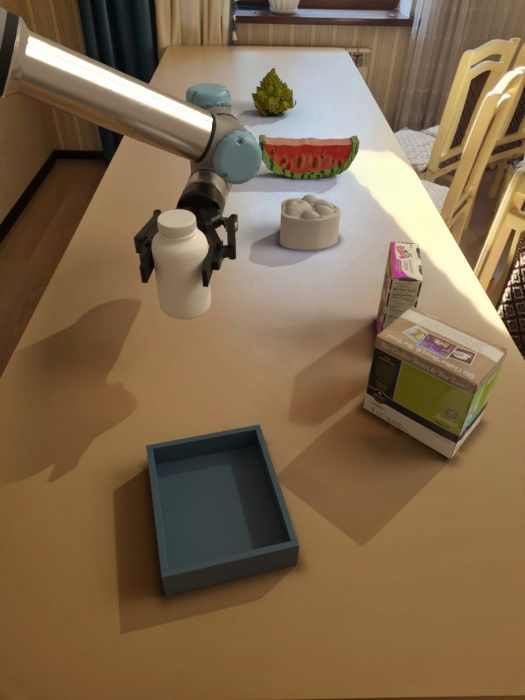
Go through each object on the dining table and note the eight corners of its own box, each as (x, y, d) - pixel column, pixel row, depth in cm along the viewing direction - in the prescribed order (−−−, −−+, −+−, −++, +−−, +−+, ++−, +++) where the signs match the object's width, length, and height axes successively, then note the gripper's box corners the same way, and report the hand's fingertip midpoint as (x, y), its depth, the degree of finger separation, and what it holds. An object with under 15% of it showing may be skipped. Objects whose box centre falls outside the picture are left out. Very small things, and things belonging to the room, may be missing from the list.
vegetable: (272, 89, 194) (281, 56, 180) (296, 122, 192) (306, 92, 178) (237, 103, 190) (244, 71, 176) (261, 138, 188) (270, 108, 173)
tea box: (480, 421, 82) (511, 348, 72) (449, 462, 76) (478, 387, 66) (394, 375, 89) (412, 302, 79) (360, 408, 83) (374, 334, 74)
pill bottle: (151, 317, 81) (138, 227, 72) (170, 287, 87) (160, 201, 77) (202, 325, 80) (195, 235, 70) (217, 294, 86) (213, 207, 76)
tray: (150, 465, 75) (145, 445, 72) (259, 444, 78) (259, 424, 75) (165, 596, 61) (161, 577, 58) (297, 564, 64) (299, 545, 61)
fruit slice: (258, 179, 146) (259, 142, 139) (258, 169, 150) (258, 133, 144) (355, 180, 146) (360, 142, 140) (352, 170, 151) (356, 134, 144)
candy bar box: (374, 317, 101) (389, 239, 90) (402, 320, 100) (420, 242, 89) (374, 357, 92) (391, 276, 81) (404, 361, 92) (425, 280, 81)
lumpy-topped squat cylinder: (280, 225, 126) (282, 190, 121) (336, 228, 126) (340, 193, 120) (279, 248, 119) (280, 212, 113) (338, 251, 118) (342, 215, 112)
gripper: (263, 225, 93) (248, 303, 76) (145, 219, 95) (105, 294, 78) (264, 184, 88) (248, 257, 71) (139, 177, 90) (95, 248, 73)
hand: (174, 276), depth 75 cm, fingers closed on pill bottle, 8 cm apart
